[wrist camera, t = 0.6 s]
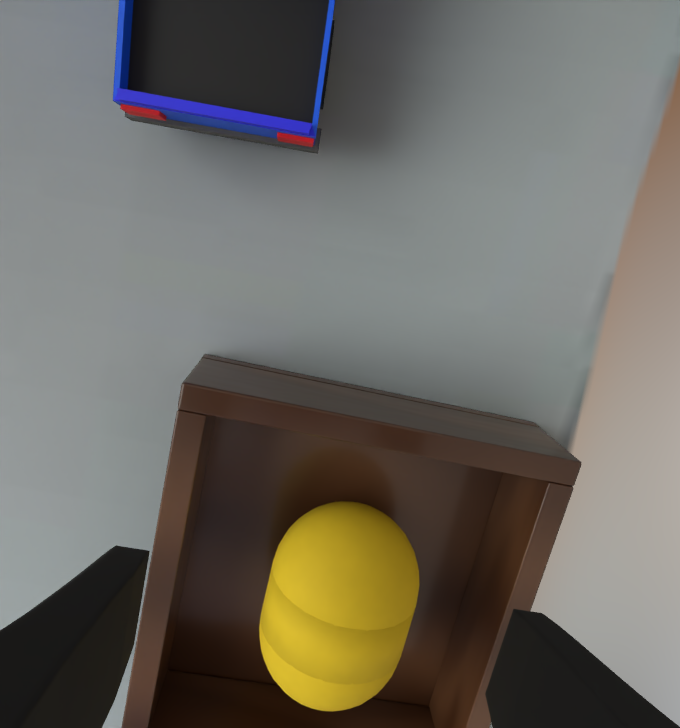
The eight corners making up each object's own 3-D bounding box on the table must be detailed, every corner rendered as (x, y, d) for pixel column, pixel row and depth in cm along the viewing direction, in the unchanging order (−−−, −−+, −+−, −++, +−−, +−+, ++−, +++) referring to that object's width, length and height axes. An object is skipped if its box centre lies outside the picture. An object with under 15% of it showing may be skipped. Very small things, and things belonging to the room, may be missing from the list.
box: (439, 714, 22) (464, 801, 19) (146, 672, 21) (115, 759, 17) (534, 422, 20) (583, 462, 16) (204, 353, 18) (181, 382, 15)
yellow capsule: (375, 644, 21) (395, 759, 16) (252, 626, 20) (238, 739, 16) (419, 490, 19) (454, 568, 15) (289, 465, 19) (285, 540, 14)
